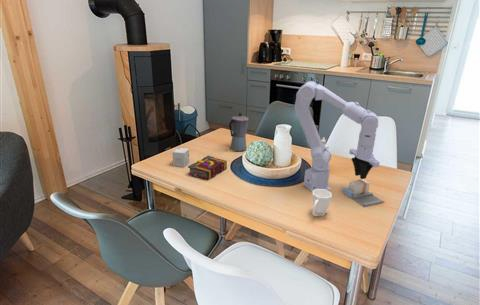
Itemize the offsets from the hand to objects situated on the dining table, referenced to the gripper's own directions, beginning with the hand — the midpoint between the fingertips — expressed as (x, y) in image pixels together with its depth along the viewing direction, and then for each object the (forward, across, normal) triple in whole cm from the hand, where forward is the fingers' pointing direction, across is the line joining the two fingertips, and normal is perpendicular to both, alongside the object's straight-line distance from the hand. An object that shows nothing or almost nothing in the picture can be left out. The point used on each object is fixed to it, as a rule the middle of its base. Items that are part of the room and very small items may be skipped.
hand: (360, 176), depth 127 cm
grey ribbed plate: (+8, -3, 0) cm, 8 cm away
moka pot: (+8, +62, +28) cm, 69 cm away
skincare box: (+8, +52, +62) cm, 81 cm away
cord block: (+7, 0, 0) cm, 7 cm away
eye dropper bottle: (+8, +36, -6) cm, 37 cm away
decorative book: (+8, +40, +52) cm, 66 cm away
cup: (+8, -8, +24) cm, 26 cm away
